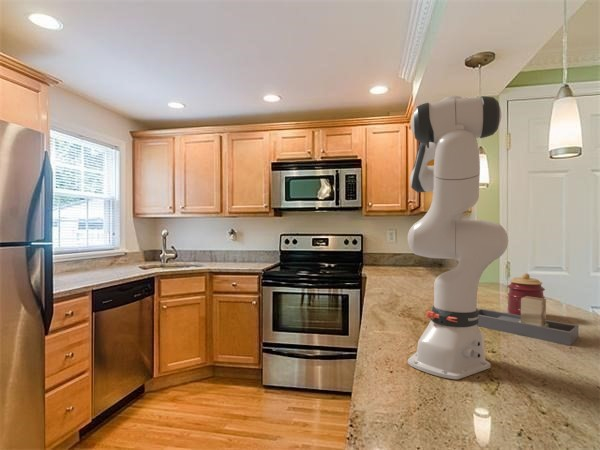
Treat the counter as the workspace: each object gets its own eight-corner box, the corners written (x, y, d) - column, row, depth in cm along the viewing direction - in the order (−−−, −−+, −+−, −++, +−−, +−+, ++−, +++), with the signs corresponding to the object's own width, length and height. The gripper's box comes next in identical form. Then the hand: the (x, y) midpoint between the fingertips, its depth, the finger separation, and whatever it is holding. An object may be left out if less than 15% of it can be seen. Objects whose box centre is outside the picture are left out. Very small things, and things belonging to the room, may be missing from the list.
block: (541, 328, 118) (541, 301, 118) (520, 324, 122) (520, 298, 122) (545, 324, 122) (546, 298, 122) (526, 321, 126) (526, 296, 126)
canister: (533, 312, 151) (533, 271, 151) (552, 320, 138) (552, 275, 138) (501, 311, 152) (502, 270, 152) (517, 319, 139) (517, 275, 139)
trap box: (570, 345, 110) (570, 332, 110) (467, 323, 133) (467, 313, 133) (578, 337, 118) (578, 325, 118) (479, 318, 141) (480, 308, 141)
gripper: (440, 199, 129) (440, 237, 129) (464, 202, 142) (464, 236, 142) (424, 200, 133) (424, 236, 133) (449, 202, 147) (449, 235, 147)
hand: (445, 236), depth 138 cm, fingers closed
